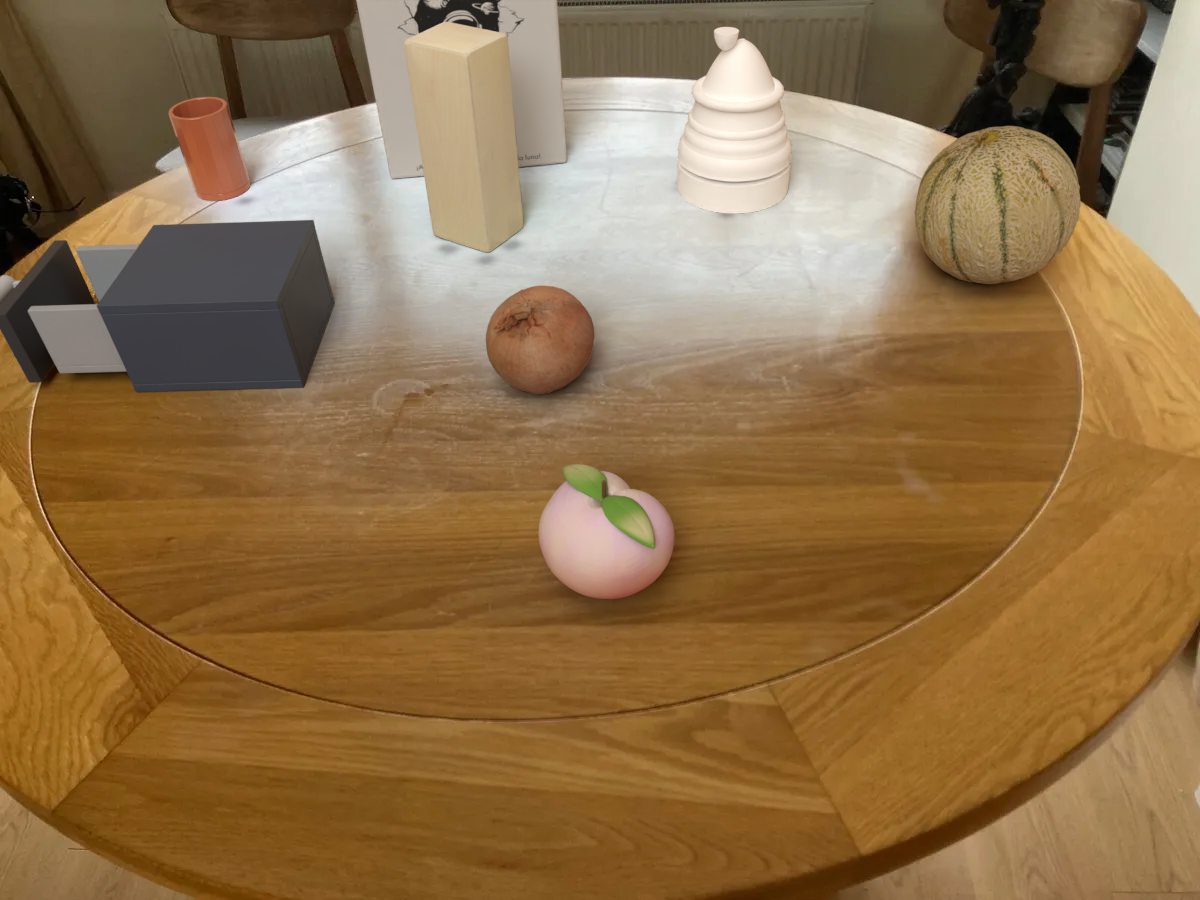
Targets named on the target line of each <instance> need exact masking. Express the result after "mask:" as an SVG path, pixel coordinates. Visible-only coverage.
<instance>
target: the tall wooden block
mask: <svg viewBox="0 0 1200 900" xmlns="http://www.w3.org/2000/svg"><path fill="white" fill-rule="evenodd" d="M404 48H405V55H406V61H407V68H408V74H409V81H410V87H411V94H412V100H413V106H414V113H415V119H416V126H417V132H418V139H419V145H420V152H421V158H422V165H423V171H424V176H423V177H424V183H425V189H426V190H425V191H426V196H427V197H426V198H427V203H428V209H429V215H430V223H431V228H432V234H433V235H434V236H435V237H437V238H440V239H443V240H446V241H450V242H452V243H456V244H458V245H462V246H465V247H468V248H471V249H474V250H477V251H480V252H482V253H491V252H492V251H494V250H495V249H497V248H498V247H500V246H501V245H503V243H505V242H506V241H508V240H509V239H510V238H512V237H513V236H514V235H516V234H517V233H519V232H520V231H521V230H522V229H523V228H524V218H523V217H524V216H523V204H522V193H521V192H522V191H521V181H520V167H518V156H517V145H516V133H515V121H514V110H513V97H512V84H511V72H510V60H509V48H508V39H507V35H506V34H504V33H500V32H495V31H490V30H486V29H481V28H476V27H471V26H466V25H461V24H456V23H452V22H443V23H441V24H438V25H436V26H434V27H432V28H430V29H428V30H426V31H424V32H421V33H419V34H417V35H415V36H413V37H411V38H409V39H407V40H405V42H404Z"/></svg>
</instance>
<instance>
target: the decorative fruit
mask: <svg viewBox="0 0 1200 900" xmlns="http://www.w3.org/2000/svg"><path fill="white" fill-rule="evenodd" d="M561 471H562V475H563V477H564V479H565V481H564V482H563V483H562V484H561V485H560V486H559V487H558V488H557V489H556V491H555V492H554V493H553V495H551V497H550V499H549V500H548V501H547V503H546V505H545V506H544V509H543V510H542V513H541V515H540V518H539V524H538V542H539V547H540V551H541V553H542V556H543V558H544V561H545V563H546V565H547V567H548V569H549V570H550V571H551V573H552V574H553V575H554V576H555V578H557V579H558V581H560V582H561V584H563V585H565V586H566V587H567V588H569V589H570V590H572V591H574V592H576V593H578V594H579V595H582V596H585V597H588V598H593V599H599V600H600V599H601V600H617V599H622V598H627V597H630V596H632V595H634V594H637V593H639V592H640V591H642V590H644V589H646V588H648V587H649V586H650V585H651V584H653V583H654V582H655V581H656V580H657V579H658V578H659V577H660V576H661V575H662V574H663V572H664V571H665V569H666V568H667V566H668V565H669V562H670V560H671V557H672V555H673V551H674V547H675V537H676V535H675V526H674V523H673V521H672V518H671V515H670V514H669V512H668V510H667V509H666V508H665V507H664V506H663V505H662V503H661V502H660V501H659V500H658V499H657V498H655V497H654V496H653V495H651V494H649V493H648V492H646V491H644V490H639V489H635V488H630V486H629V485H628V483H627V482H626V481H625V480H624V479H623V478H621V477H620V476H619V475H617V474H615V473H614V472H610V471H607V470H606V471H605V470H600V469H598V468H596V467H594V466H591V465H588V464H583V463H573V464H567V465H564V466H563V467H562V470H561Z"/></svg>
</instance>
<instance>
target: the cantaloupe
mask: <svg viewBox="0 0 1200 900" xmlns="http://www.w3.org/2000/svg"><path fill="white" fill-rule="evenodd" d="M1080 188H1081V186H1080V184H1079V178H1078V174H1077V170H1076V168H1075V167H1074V164H1073V162H1072V160H1071V158H1070V157H1069V155H1068V154H1067V152H1065V151H1064V149H1063V148H1062V147H1061V146H1060V145H1059V144H1058V143H1057V142H1056V141H1055V140H1054V139H1053V138H1050V137H1049V136H1047V135H1045V134H1043V133H1042V132H1039V131H1036V130H1032V129H1029V128H1024V127H1021V126H1015V125H1003V126H992V127H991V126H990V127H987V128H983V129H979V130H975V131H972V132H969V133H966V134H964V135H962V136H960V137H958V138H957V139H955V140H954V141H953V142H951V143H950V144H949V145H947V146H945V147H944V148H943V149H942V150H941V151H940V152H938V153H937V155H936V156H935V157H934V158H933V159H932V161H931V162H930V163H929V165H928V166H927V168H926V170H925V171H924V173H923V174H922V177H921V179H920V182H919V186H918V191H917V194H916V199H915V205H914V206H915V208H914V224H915V230H916V233H917V238H918V240H919V243H920V244H921V247H922V249H923V251H924V253H925V254H926V255H927V257H928V258H929V260H931V262H932V263H934V264H935V266H937V267H938V268H940V269H941V270H942V271H943V272H945V273H947V274H948V275H950V276H952V277H954V278H956V279H958V280H960V281H965V282H968V283H977V284H982V285H998V284H1002V283H1009V282H1015V281H1018V280H1022V279H1025V278H1027V277H1030V276H1032V275H1034V274H1036V273H1037V272H1039V271H1040V270H1042V269H1043V268H1044V267H1046V266H1047V265H1048V264H1050V263H1051V262H1052V261H1053V260H1054V259H1056V258H1057V257H1058V256H1059V255H1060V253H1061V252H1063V250H1064V248H1065V247H1066V246H1067V245H1068V243H1069V242H1070V240H1071V239H1072V236H1073V234H1074V231H1075V229H1076V227H1077V225H1078V224H1079V223H1078V222H1079V220H1080V219H1079V218H1080V217H1079V216H1080V213H1081V211H1080V209H1081V195H1080V190H1081V189H1080Z"/></svg>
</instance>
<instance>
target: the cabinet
mask: <svg viewBox="0 0 1200 900" xmlns="http://www.w3.org/2000/svg"><path fill="white" fill-rule="evenodd" d="M139 244H140V245H139V246H138V248H137V249H136V251H135V252H134V253H133V255H132V256H131V258H130V259H129V260H128V262H127V263H126V265H125V266H124V268H123V269H122V270H121V272H120V273H119V275H118V276H117V277H116V279H115V280H114V282H113V283H112V285H111V286H110V287H109V289H108V290H107V292H106V293H105V294H104V296H103V297H102V299H101V300H100V302H99V301H98V303H96V304H97V308H98V310H99V313H100V314H101V316H102V319H103V321H104V323H105V325H106V327H107V330H108V332H109V334H110V336H111V338H112V340H113V343H114V345H115V347H116V349H117V351H118V354H119V356H120V358H121V360H122V362H123V365H124V367H125V369H126V371H127V372H126V373H127V375H128V378H129V380H130V383H131V384H132V387H133V389H134V391H135V392H136V393H151V392H152V393H153V392H155V393H156V392H188V391H189V392H191V391H195V392H196V391H227V390H265V389H267V390H268V389H298V388H299V389H301V388H304V387H305V384H306V381H307V378H308V375H309V373H310V371H311V368H312V365H313V363H314V360H315V357H316V355H317V351H318V349H319V348H320V344H321V341H322V339H323V336H324V333H325V330H326V328H327V325H328V323H329V320H330V317H331V314H332V311H333V309H334V307H335V304H336V303H335V298H334V295H333V290H332V286H331V283H330V279H329V275H328V270H327V267H326V264H325V260H324V256H323V252H322V248H321V244H320V240H319V237H318V232H317V229H316V225H315V221H314V219H299V220H270V221H267V220H266V221H264V220H263V221H237V222H235V221H233V222H207V223H175V224H173V223H172V224H171V223H170V224H153V225H152V226H151V228H150V229H149V231H148V232H147V234H146V235H145V236H144V237H143V239H142V240H141V242H140V243H139Z"/></svg>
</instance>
